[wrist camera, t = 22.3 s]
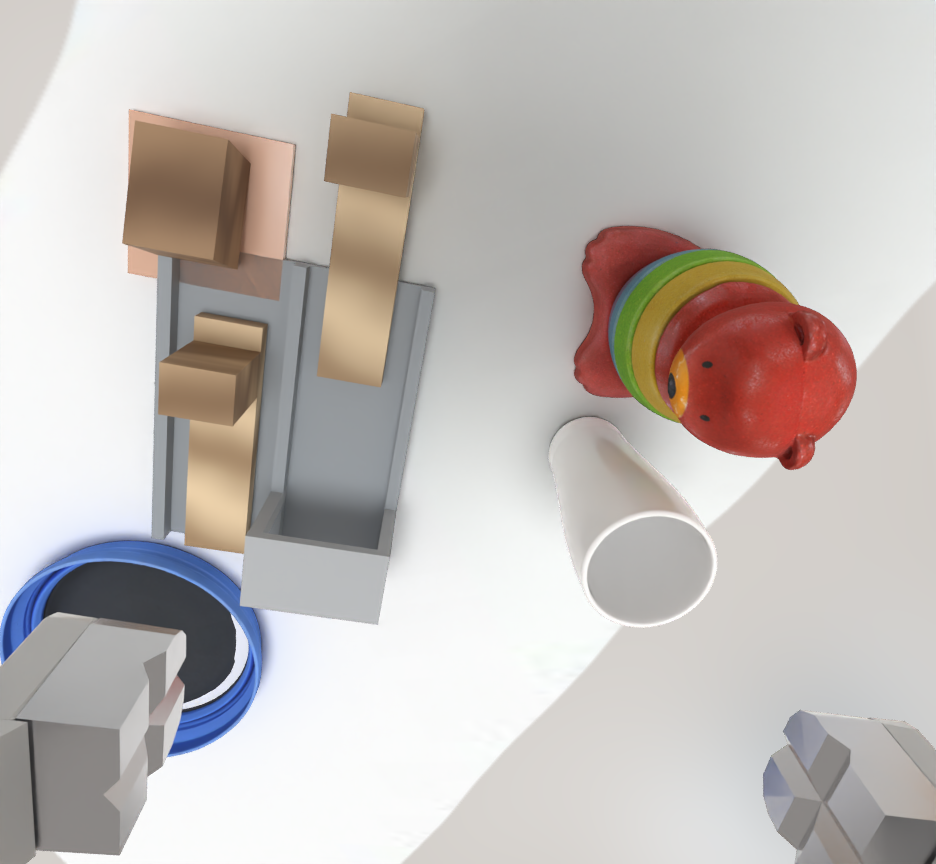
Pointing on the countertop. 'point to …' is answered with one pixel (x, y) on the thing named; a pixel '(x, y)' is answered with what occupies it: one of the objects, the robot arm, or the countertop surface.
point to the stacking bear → (712, 345)
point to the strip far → (218, 424)
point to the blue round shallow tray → (154, 621)
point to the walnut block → (186, 195)
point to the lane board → (301, 440)
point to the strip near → (366, 233)
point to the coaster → (262, 207)
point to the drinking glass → (628, 528)
